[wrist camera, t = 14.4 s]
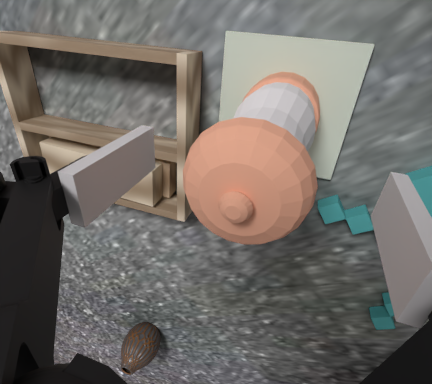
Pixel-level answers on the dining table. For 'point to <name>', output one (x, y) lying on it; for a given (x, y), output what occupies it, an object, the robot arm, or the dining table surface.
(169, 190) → the lower offcut
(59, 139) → the upper offcut
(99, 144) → the rack
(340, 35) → the dining table surface
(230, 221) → the salt shaker
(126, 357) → the vase
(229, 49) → the mat
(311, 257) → the dining table surface
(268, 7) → the dining table surface
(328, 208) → the alien figure
